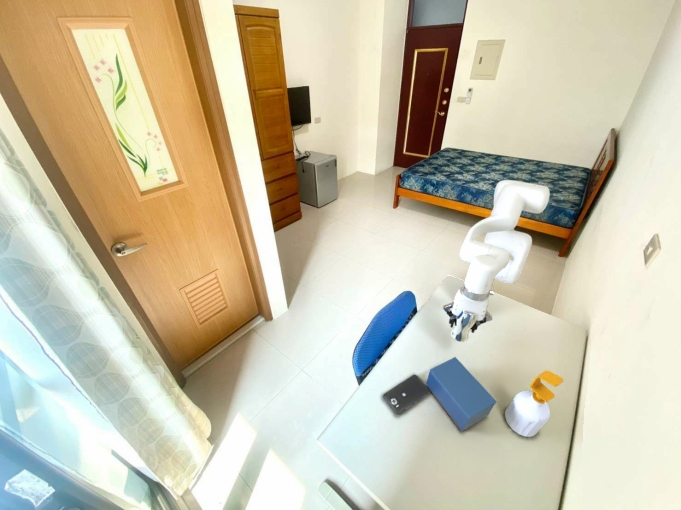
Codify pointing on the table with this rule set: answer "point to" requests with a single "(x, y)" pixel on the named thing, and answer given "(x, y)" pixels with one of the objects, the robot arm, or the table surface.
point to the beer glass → (463, 326)
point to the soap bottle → (532, 406)
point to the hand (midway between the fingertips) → (461, 326)
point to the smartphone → (406, 394)
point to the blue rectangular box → (459, 393)
